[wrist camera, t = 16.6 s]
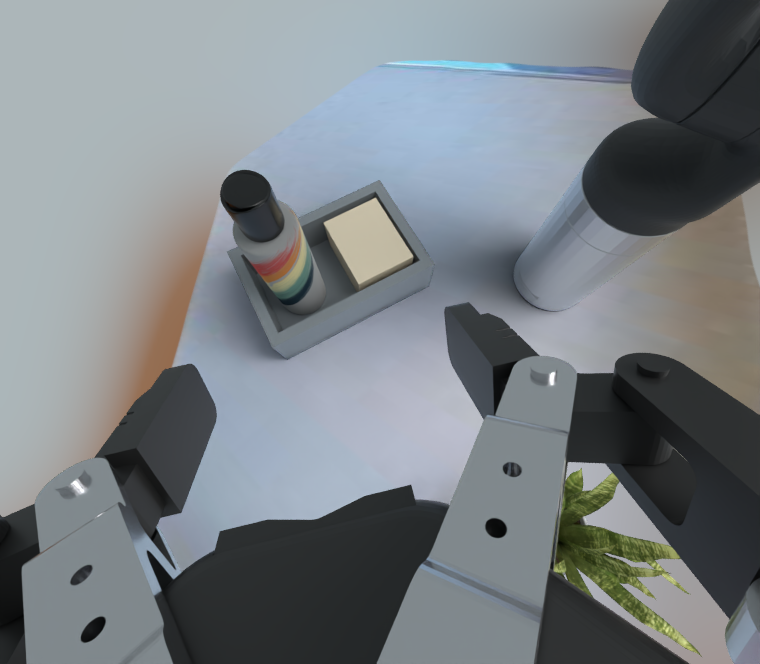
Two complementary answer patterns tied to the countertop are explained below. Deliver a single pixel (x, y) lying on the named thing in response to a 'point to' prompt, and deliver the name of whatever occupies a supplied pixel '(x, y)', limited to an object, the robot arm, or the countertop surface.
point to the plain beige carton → (367, 244)
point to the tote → (334, 280)
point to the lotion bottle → (273, 241)
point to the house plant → (590, 543)
